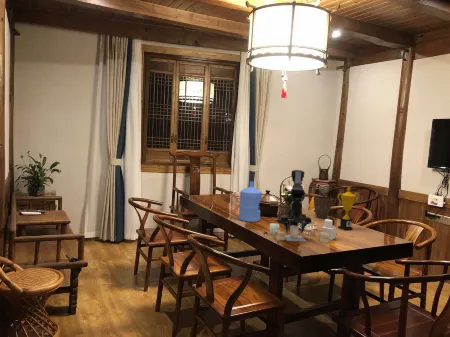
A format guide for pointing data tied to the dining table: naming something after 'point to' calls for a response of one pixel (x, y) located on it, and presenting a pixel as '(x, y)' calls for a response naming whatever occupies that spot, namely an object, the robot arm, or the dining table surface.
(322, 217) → the plant pot
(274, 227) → the pale curved piece
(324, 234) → the beech block
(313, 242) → the dining table surface
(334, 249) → the dining table surface
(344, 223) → the trophy
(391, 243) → the dining table surface
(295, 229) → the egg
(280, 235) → the beech block
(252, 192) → the water jug
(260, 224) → the dining table surface
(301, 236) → the felt mat
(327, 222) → the medicine bottle
